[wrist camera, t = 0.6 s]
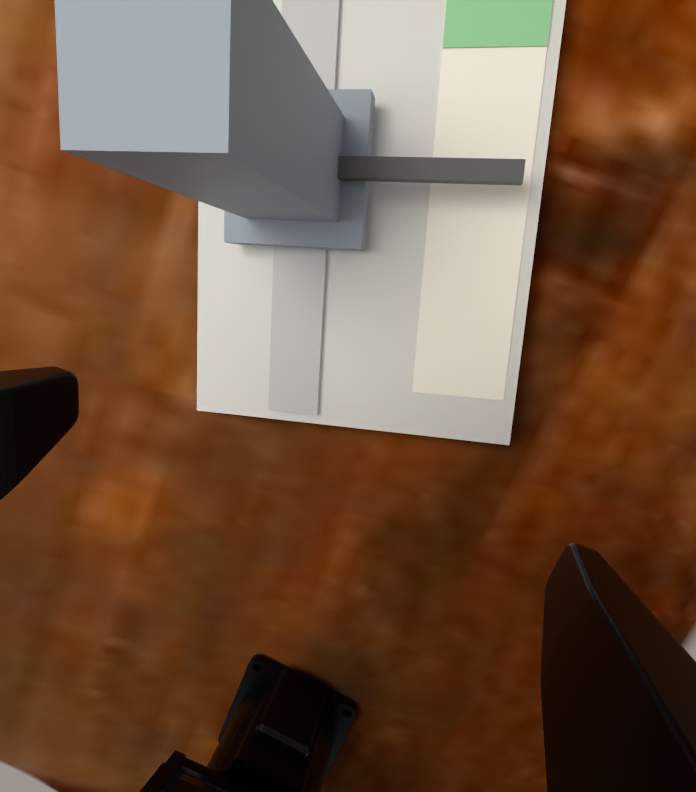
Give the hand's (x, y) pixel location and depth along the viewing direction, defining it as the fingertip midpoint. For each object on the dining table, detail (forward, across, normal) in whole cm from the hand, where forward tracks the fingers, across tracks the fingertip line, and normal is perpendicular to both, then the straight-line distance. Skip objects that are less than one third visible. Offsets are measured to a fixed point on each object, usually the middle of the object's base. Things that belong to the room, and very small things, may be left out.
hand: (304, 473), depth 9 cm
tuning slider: (+16, +3, -4) cm, 17 cm away
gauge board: (+18, +4, -4) cm, 19 cm away
